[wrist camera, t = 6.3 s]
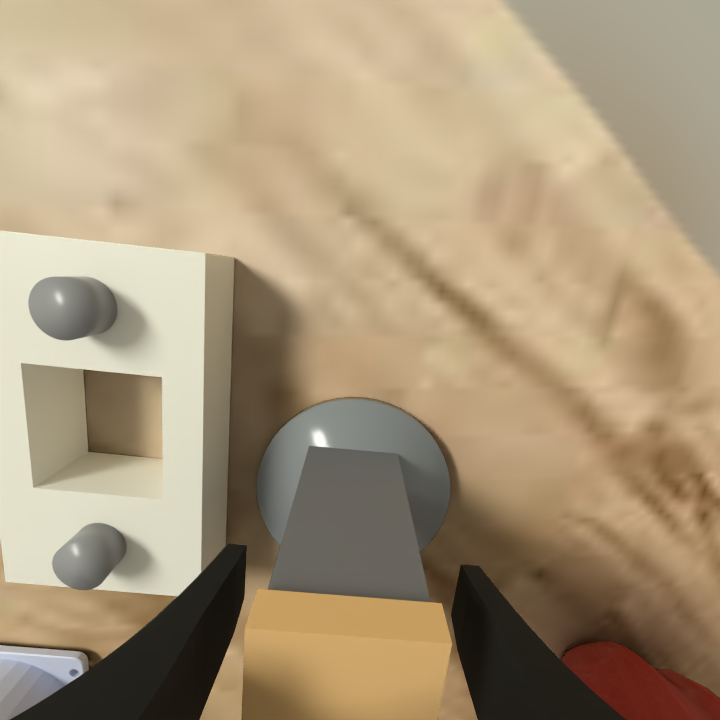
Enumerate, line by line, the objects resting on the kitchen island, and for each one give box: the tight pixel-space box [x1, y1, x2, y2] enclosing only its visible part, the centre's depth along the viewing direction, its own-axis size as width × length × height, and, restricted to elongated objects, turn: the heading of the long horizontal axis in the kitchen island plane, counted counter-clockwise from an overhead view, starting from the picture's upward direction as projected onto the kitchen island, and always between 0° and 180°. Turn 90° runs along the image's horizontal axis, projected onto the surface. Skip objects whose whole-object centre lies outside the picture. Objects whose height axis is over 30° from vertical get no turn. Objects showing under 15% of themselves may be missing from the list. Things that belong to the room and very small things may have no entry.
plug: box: [242, 446, 452, 720], centre depth 13 cm, size 4×4×9 cm
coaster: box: [256, 397, 451, 552], centre depth 17 cm, size 9×9×1 cm
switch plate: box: [0, 231, 235, 596], centre depth 15 cm, size 14×8×4 cm, turn 174°
